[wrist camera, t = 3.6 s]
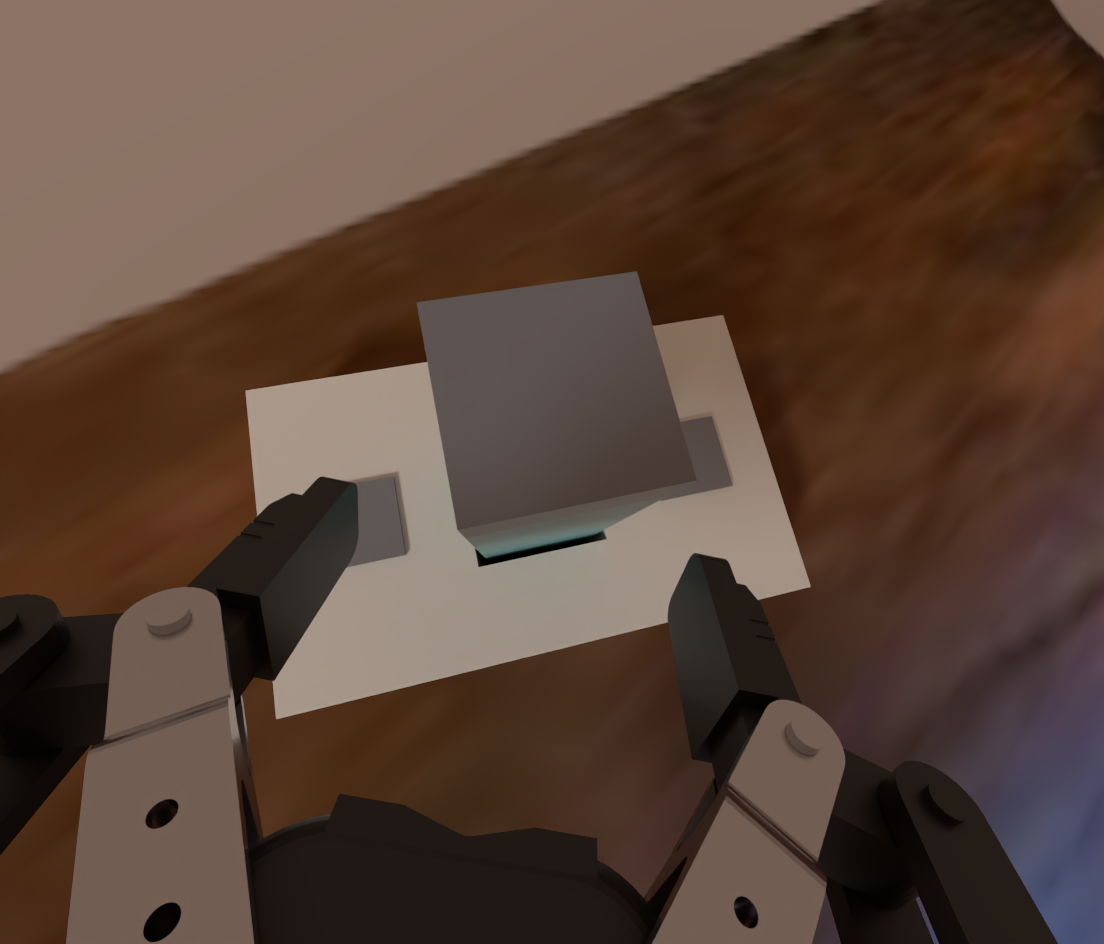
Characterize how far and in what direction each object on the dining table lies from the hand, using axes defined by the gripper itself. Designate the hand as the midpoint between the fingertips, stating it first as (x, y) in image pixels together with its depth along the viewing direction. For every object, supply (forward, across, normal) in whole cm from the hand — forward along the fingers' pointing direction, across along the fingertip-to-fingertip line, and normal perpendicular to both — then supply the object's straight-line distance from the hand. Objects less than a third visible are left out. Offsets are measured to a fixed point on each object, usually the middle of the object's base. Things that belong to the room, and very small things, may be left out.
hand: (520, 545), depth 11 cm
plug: (+10, 0, +6) cm, 11 cm away
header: (+10, 0, +6) cm, 11 cm away
